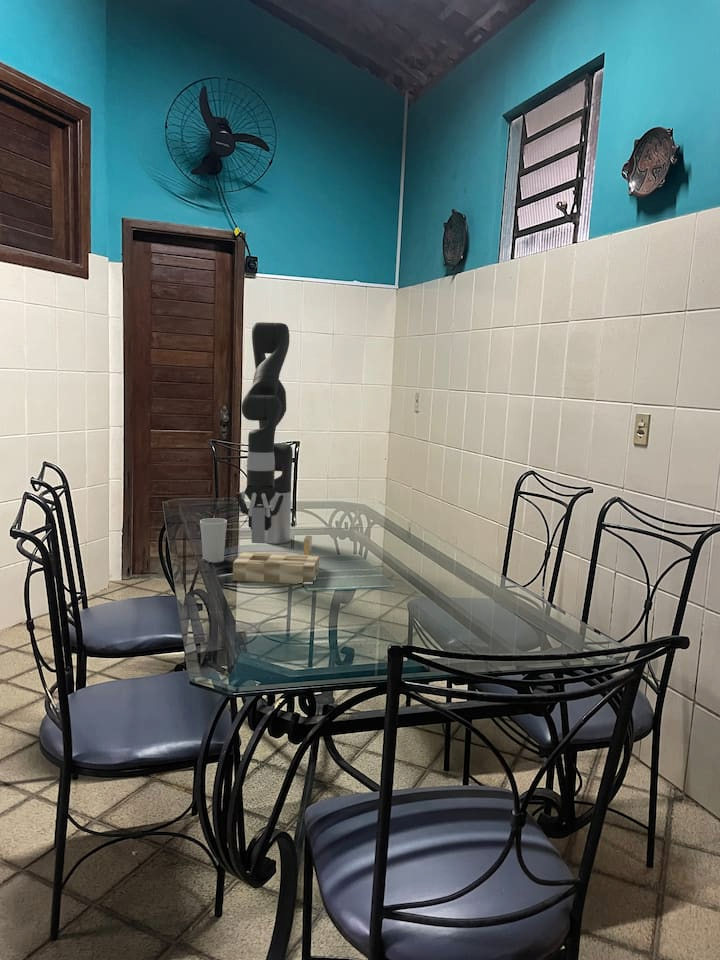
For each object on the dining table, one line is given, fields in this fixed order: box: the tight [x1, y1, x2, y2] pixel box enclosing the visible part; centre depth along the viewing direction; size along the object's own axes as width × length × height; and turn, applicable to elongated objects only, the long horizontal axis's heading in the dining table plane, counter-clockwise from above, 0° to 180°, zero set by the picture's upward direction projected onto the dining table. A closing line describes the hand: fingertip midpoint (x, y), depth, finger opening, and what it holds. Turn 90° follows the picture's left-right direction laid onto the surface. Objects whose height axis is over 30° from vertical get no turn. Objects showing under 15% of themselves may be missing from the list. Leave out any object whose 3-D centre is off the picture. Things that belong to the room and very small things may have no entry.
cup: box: [199, 517, 228, 564], centre depth 208 cm, size 8×8×12 cm
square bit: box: [251, 504, 267, 545], centre depth 191 cm, size 4×4×10 cm
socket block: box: [232, 551, 320, 585], centre depth 193 cm, size 12×22×5 cm, turn 86°
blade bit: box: [303, 535, 313, 555], centre depth 203 cm, size 5×2×9 cm, turn 176°
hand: (259, 529), depth 192 cm, fingers closed on square bit, 3 cm apart
